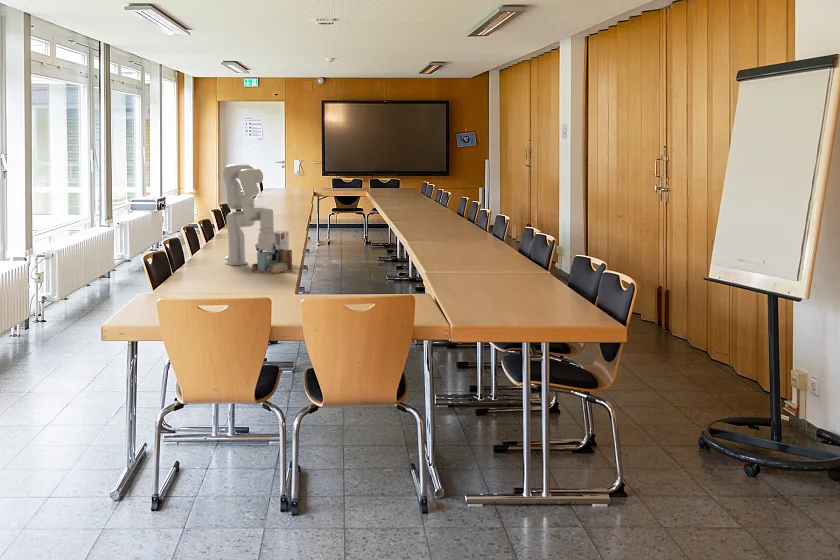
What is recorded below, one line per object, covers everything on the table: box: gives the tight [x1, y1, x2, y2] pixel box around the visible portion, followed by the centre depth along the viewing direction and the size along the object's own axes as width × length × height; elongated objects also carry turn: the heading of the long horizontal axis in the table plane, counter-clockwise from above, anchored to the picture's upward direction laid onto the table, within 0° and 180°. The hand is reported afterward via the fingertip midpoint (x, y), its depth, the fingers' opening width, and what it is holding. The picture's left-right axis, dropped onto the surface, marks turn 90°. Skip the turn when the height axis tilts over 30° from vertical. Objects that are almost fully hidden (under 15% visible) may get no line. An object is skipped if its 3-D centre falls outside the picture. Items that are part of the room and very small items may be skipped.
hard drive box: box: [274, 230, 290, 250], centre depth 526 cm, size 16×8×20 cm, turn 168°
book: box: [256, 250, 278, 271], centre depth 503 cm, size 5×12×10 cm, turn 151°
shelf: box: [251, 249, 293, 275], centre depth 502 cm, size 16×16×12 cm
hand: (267, 260), depth 502 cm, fingers open, 9 cm apart
